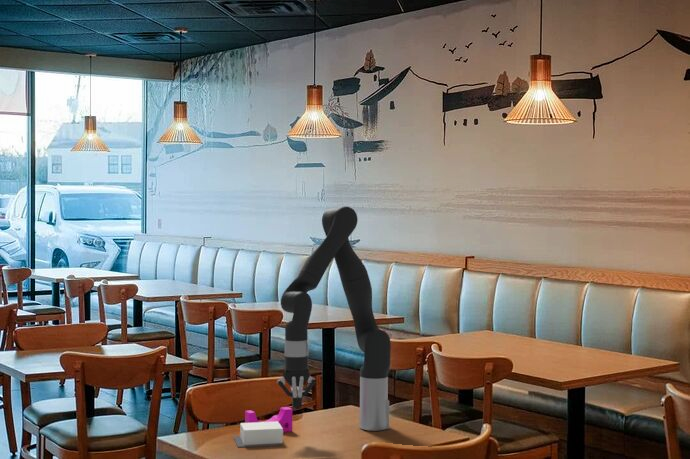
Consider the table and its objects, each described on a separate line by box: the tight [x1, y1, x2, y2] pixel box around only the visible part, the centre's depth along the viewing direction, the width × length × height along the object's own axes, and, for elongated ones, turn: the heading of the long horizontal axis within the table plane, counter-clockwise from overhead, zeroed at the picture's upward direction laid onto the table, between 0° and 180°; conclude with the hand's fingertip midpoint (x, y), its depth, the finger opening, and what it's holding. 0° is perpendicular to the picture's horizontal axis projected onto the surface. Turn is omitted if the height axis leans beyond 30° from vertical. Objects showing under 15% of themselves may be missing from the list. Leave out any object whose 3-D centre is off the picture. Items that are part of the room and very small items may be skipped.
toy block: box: [244, 406, 293, 433], centre depth 296 cm, size 15×6×8 cm, turn 116°
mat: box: [232, 435, 283, 448], centre depth 282 cm, size 13×13×1 cm
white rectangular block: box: [239, 421, 284, 445], centre depth 283 cm, size 4×10×12 cm
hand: (296, 408), depth 285 cm, fingers closed
